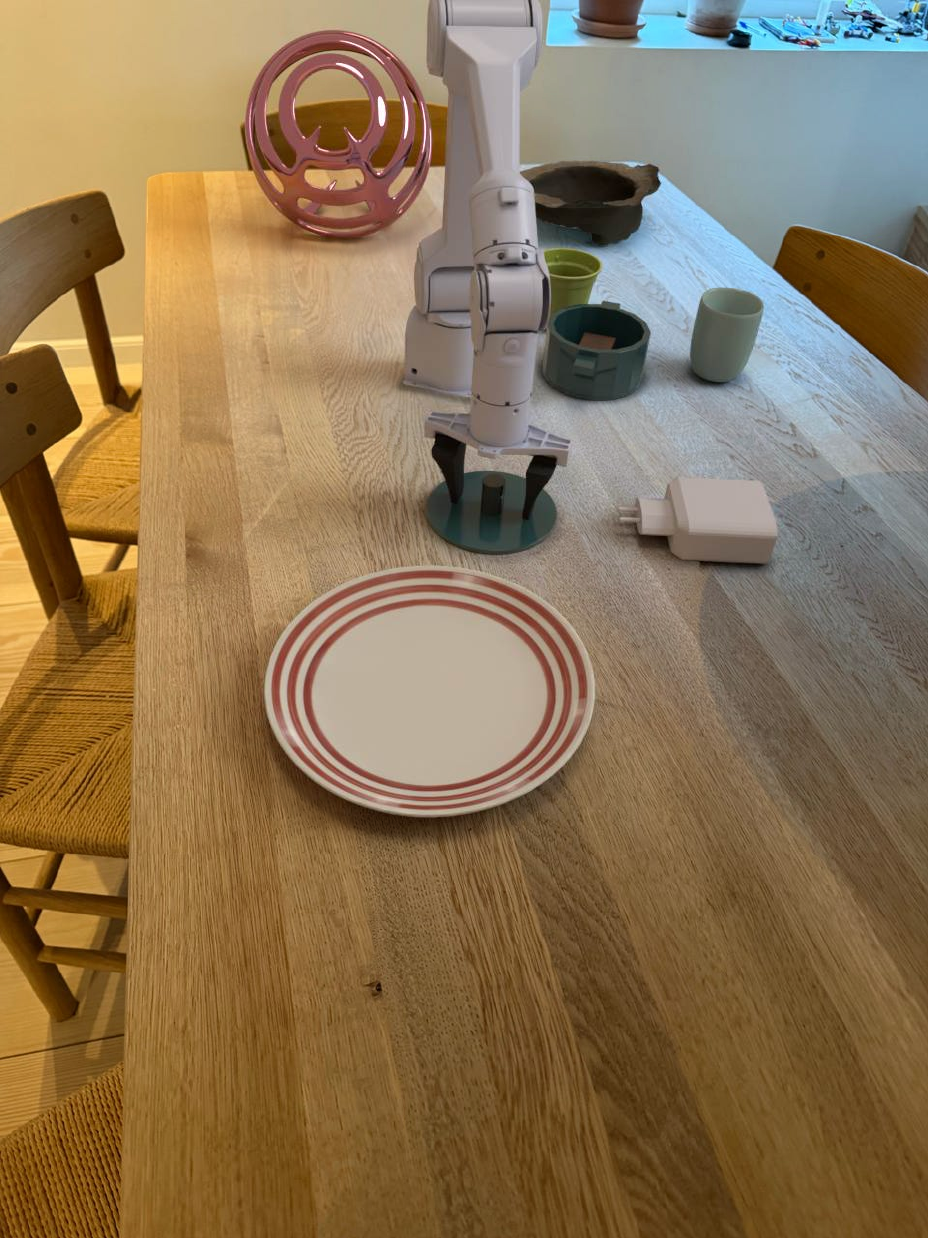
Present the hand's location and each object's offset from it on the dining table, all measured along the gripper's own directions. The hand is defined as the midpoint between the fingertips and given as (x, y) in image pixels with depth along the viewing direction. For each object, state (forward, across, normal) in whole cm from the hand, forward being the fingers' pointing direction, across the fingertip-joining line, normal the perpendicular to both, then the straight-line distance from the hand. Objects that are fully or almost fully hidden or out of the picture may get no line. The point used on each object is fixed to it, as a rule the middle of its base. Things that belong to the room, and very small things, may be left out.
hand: (492, 506), depth 99 cm
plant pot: (+2, -3, +45) cm, 45 cm away
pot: (+1, +4, +33) cm, 33 cm away
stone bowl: (+2, -8, +80) cm, 80 cm away
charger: (+2, +20, +4) cm, 20 cm away
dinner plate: (+2, +2, -26) cm, 26 cm away
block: (+1, +4, +33) cm, 33 cm away
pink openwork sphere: (+2, -43, +63) cm, 76 cm away
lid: (+1, 0, 0) cm, 1 cm away
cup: (+2, +19, +39) cm, 43 cm away
